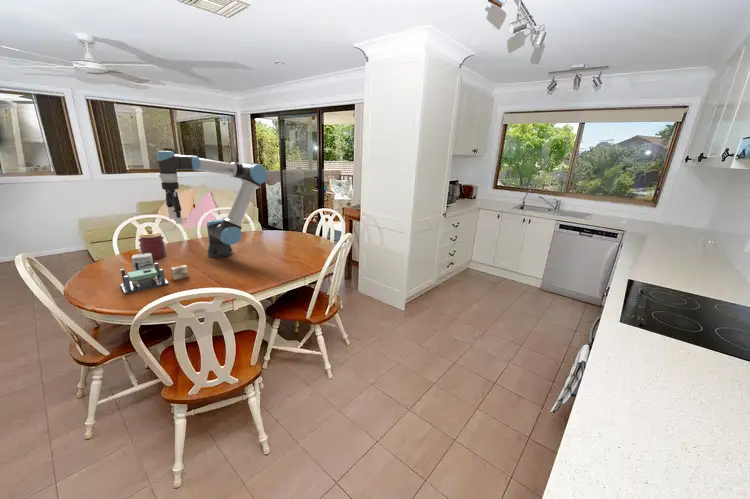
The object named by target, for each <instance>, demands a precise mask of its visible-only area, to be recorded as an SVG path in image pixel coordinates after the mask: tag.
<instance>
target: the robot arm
mask: <svg viewBox="0 0 750 499" xmlns="http://www.w3.org/2000/svg"><path fill="white" fill-rule="evenodd" d="M156 161H157V164H158V170H159V175H158V177H159V178H160V181H161V189H162V190H165V205H166V207H167V212H168V216H169V217H168V218H169V220H173V219H175V220H174V221H175V225H180V224H183V219H182V206H181V202H180V199H179V196H178V192H177V191H176V190H179V189H180V187H179V185H180V184H179V182H178V181H179V179H178V178H179V176H178V173H177V171H178V170H179V171H181V170H182V171H184V170H185V171H187V170H188V171H190V170H192V171H198V172H203V173H213V174H219V175H226V176H230V177H231V178H236V179H240V182H241V186H240V188H239V190H238V193H237V194H236V197H235V199H234V201H233V204H232V206H231V209H230V211H229V212H228V215H227V216H226V217H225V218H223V219H222V218H221V219H220V218H219V219H211V220H208V221H206V222H207V223H206V228H207V236H208V247H207V251H206V252H207V253H206V254H207V256H208V257H210V258H223V257H228V256H231V255H232V254H233V252H234V251H233V247H232V245H236V244H237V243H239V242H240V241H241V239H242V237H243V236H242V235H243V233H242V228H243V225H242V222H243V219H244V217H245V215H246V212H247V211H248V208H249V206H250V203H251V201H252V199H253V197H254V194H255V191H257V189H260V187H261V185H262V184H264V183H266V181H267V179H268V176H269V175H268V171H267V169H266V167H265V166H263V165H261V164H259V163H253V162H252V163H251V162H236V161H233V162H227V161H220V160H214V159H209V158H202V157H199V156H198V155H192V154H190V155H189V154H188V155H187V154H186V155H185V154H179V153H175V152H173V151H171V150H158V151H157V152H156Z"/></svg>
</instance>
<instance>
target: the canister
mask: <svg viewBox="0 0 750 499" xmlns="http://www.w3.org/2000/svg"><path fill="white" fill-rule="evenodd" d="M137 241H139V249H140V254H146V253H151V254H152V259H153V260H157V259H162V258H164V257H166V256H167V250H166V246H165V244H166V243H165V241H164V236H162V232H161V233H160V232H159V231H153V229H147V230H146V231H145V232H143V233H141V234H140V235H139V239H138V240H137Z"/></svg>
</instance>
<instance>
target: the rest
mask: <svg viewBox="0 0 750 499" xmlns="http://www.w3.org/2000/svg"><path fill="white" fill-rule="evenodd" d="M170 271H171V277H172V279H173V281H175V280H181V279H186V278H188V277H190V274H189V268H188V266H187V265H186V264H183V265H177V266H172V267H170Z"/></svg>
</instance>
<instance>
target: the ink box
mask: <svg viewBox="0 0 750 499" xmlns="http://www.w3.org/2000/svg"><path fill="white" fill-rule="evenodd" d="M153 260H154V259H152V254H151V253H146V254H141V253H139V254H133V255H132V256H131V262H132V266H133V271H138V270H144V269H149V268H154V269H155V266H154V261H153Z"/></svg>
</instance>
